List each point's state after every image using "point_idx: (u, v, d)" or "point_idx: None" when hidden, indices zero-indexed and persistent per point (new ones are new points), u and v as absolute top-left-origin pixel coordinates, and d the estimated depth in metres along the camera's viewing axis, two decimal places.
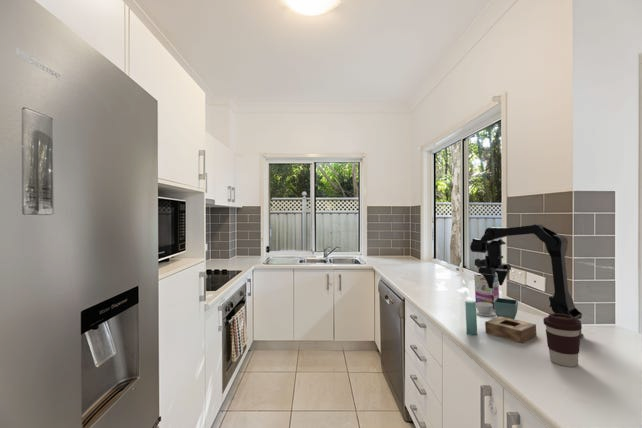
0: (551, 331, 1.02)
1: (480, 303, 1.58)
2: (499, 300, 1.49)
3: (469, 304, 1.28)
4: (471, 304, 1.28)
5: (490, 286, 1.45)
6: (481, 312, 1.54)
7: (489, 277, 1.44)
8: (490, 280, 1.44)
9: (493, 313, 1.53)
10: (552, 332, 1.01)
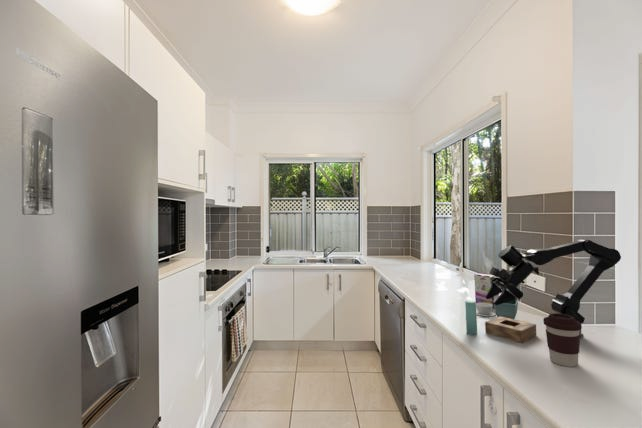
0: (551, 331, 1.02)
1: (480, 303, 1.58)
2: None
3: (469, 304, 1.28)
4: (471, 304, 1.28)
5: (496, 303, 1.24)
6: (481, 312, 1.53)
7: (506, 296, 1.22)
8: (505, 299, 1.22)
9: (493, 313, 1.53)
10: (552, 332, 1.01)
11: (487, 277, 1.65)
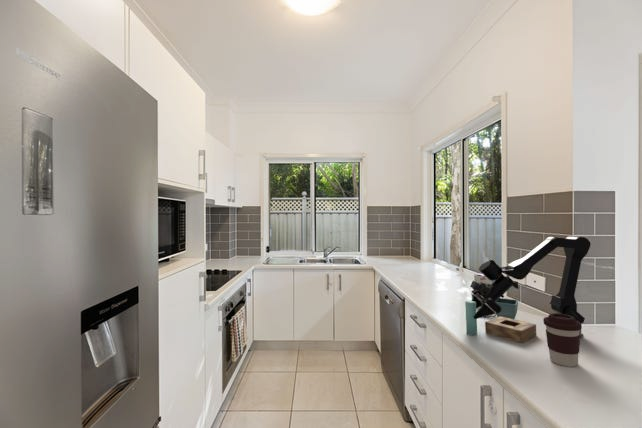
0: (551, 331, 1.02)
1: None
2: (499, 300, 1.49)
3: (469, 304, 1.28)
4: (471, 304, 1.28)
5: (475, 317, 1.25)
6: None
7: (485, 310, 1.23)
8: (484, 313, 1.23)
9: (493, 314, 1.52)
10: (552, 332, 1.01)
11: None
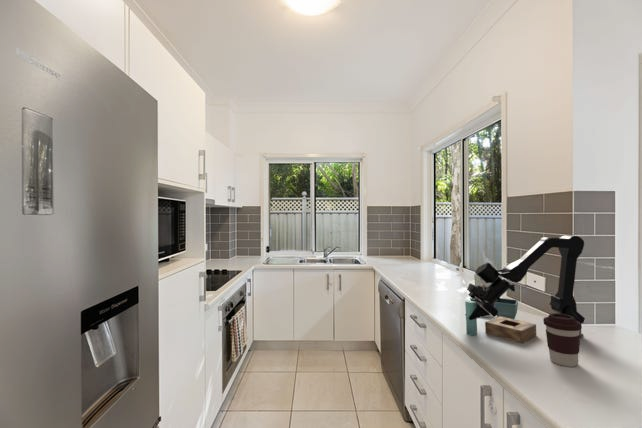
0: (551, 331, 1.02)
1: None
2: None
3: (469, 304, 1.28)
4: (471, 304, 1.28)
5: (470, 318, 1.27)
6: None
7: (480, 311, 1.26)
8: (478, 314, 1.26)
9: None
10: (552, 332, 1.01)
11: None
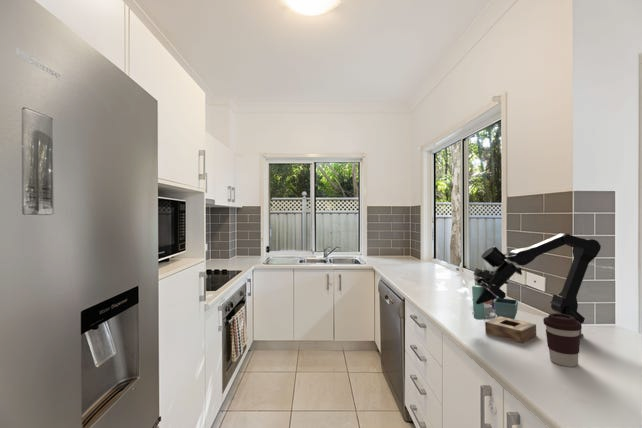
0: (551, 331, 1.02)
1: None
2: (499, 300, 1.49)
3: (476, 288, 1.28)
4: (478, 288, 1.27)
5: (477, 302, 1.27)
6: None
7: (487, 295, 1.26)
8: (486, 298, 1.26)
9: (492, 314, 1.52)
10: (552, 332, 1.01)
11: None
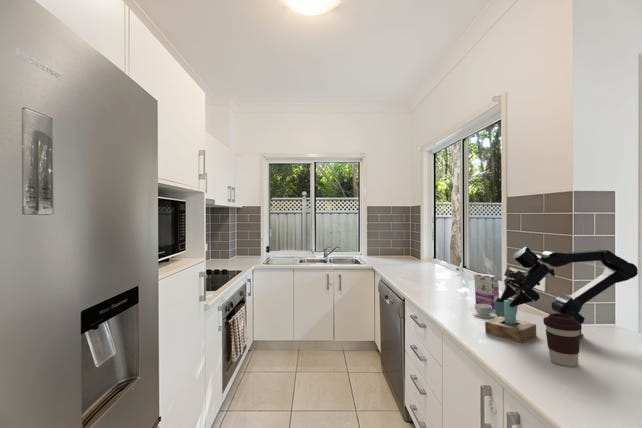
0: (551, 331, 1.02)
1: (479, 304, 1.56)
2: (499, 300, 1.49)
3: (509, 303, 1.26)
4: None
5: (511, 305, 1.23)
6: (480, 314, 1.51)
7: (522, 298, 1.22)
8: (520, 301, 1.22)
9: (492, 315, 1.51)
10: (552, 332, 1.01)
11: (487, 277, 1.65)
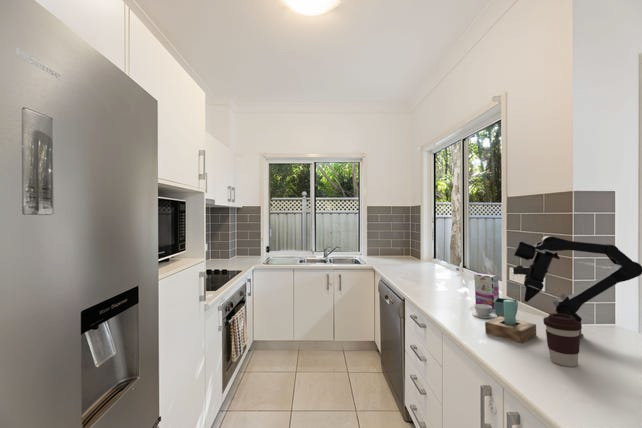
0: (551, 331, 1.02)
1: (479, 305, 1.55)
2: (499, 300, 1.49)
3: (508, 303, 1.26)
4: (510, 303, 1.25)
5: (526, 300, 1.26)
6: (480, 314, 1.51)
7: (531, 290, 1.25)
8: (531, 294, 1.25)
9: (492, 315, 1.50)
10: (552, 332, 1.01)
11: (487, 277, 1.65)
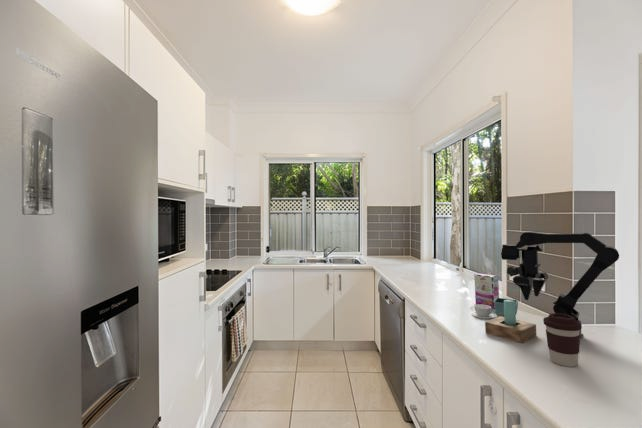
0: (551, 331, 1.02)
1: (478, 305, 1.55)
2: (499, 300, 1.49)
3: (508, 303, 1.26)
4: (511, 303, 1.26)
5: (526, 298, 1.30)
6: (480, 315, 1.50)
7: (525, 287, 1.29)
8: (526, 291, 1.28)
9: (492, 316, 1.50)
10: (552, 332, 1.01)
11: (487, 277, 1.65)
